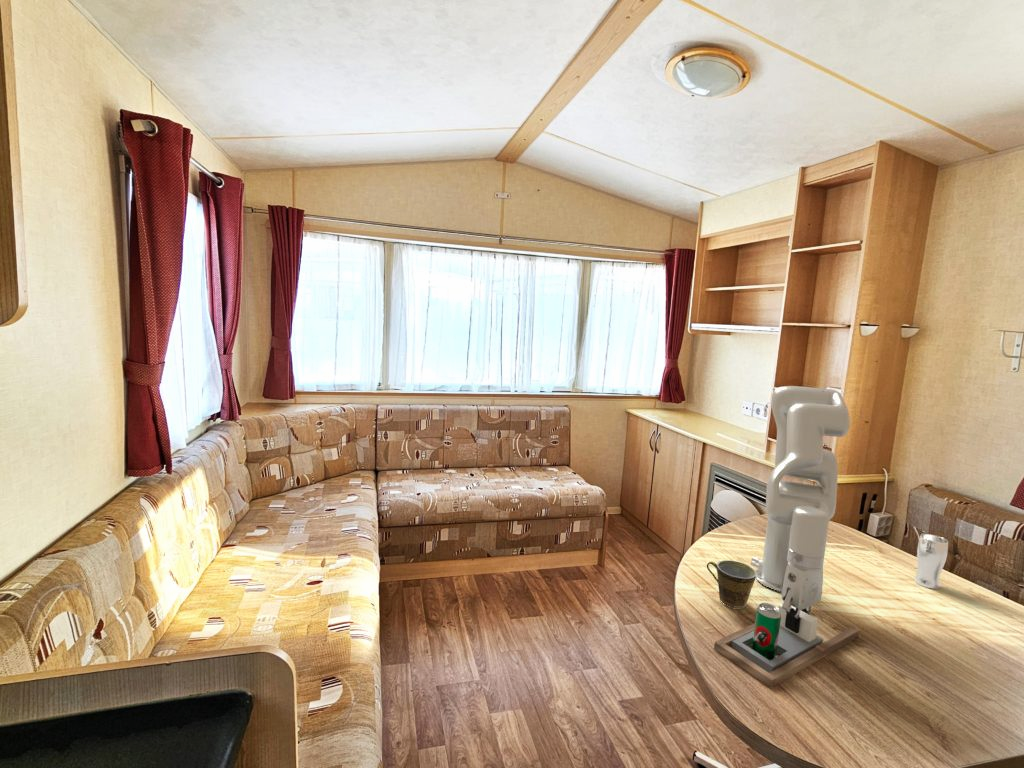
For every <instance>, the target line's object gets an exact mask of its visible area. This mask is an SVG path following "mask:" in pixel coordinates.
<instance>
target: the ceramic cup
mask: <svg viewBox="0 0 1024 768" xmlns="http://www.w3.org/2000/svg"><path fill="white" fill-rule="evenodd" d="M709 565H712V566H713V567H714V568H715V569H716V574H717V576H716V575H715V574H714V573H713V571H712V570H711V569H710V568H709ZM706 569H707V570H708V572H709V573H710V574H711V576H712V577H713V578H714V580H715V581H716V582H717V584H718V595H719V596H718V598H720V599H719V600H720V602H721V601H722V602H723V603H724V604H726V605H728V606H730V607H729V608H731V607H732V608H731V609H733V608H740V609H739V610H744V608H745V607H746V605H747V604H748V600H749V599H750V598H749V597H750V595H751V591H752V589H753V586H754V584H755V581H756V570H755V569H754V568H753V567H752V566H750V565H748V564H746V563H744V562H740V561H736V560H728V559H727V560H721V561H718V562H717V563H716V562H713V561H709V562H708V563H707V564H706ZM722 602H721V603H722ZM723 603H722V604H723ZM724 604H723V605H724ZM726 605H725V606H726ZM728 606H727V607H728Z"/></svg>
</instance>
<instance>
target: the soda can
mask: <svg viewBox="0 0 1024 768" xmlns="http://www.w3.org/2000/svg"><path fill="white" fill-rule="evenodd" d="M778 608H779V607H777V606H776V605H774V604H771V603H767V602H761V603H759V604H758V606H757V607H756V613H755V618H754V620H755V621H754V623H755V628H754V636H753V645H751V646H752V647H751V649H753V650H754V651H756V652H757V653H759V654H760V655H762V656H764V657H765V658H767V659H768V660H770V661H771V660H772V659H774V658H776V657H777V654H778V653H777V645H778V637H779V629H780V621H781V614H780V610H779V609H778Z"/></svg>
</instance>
